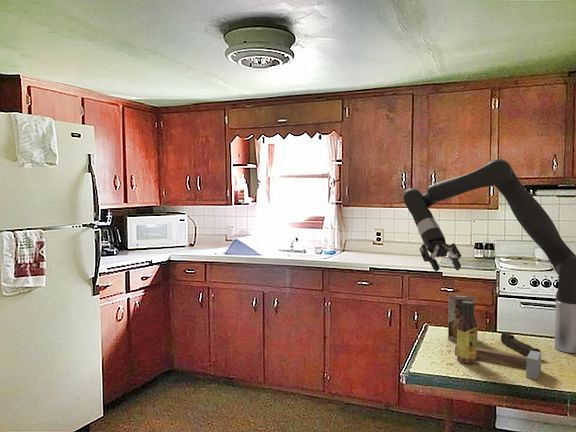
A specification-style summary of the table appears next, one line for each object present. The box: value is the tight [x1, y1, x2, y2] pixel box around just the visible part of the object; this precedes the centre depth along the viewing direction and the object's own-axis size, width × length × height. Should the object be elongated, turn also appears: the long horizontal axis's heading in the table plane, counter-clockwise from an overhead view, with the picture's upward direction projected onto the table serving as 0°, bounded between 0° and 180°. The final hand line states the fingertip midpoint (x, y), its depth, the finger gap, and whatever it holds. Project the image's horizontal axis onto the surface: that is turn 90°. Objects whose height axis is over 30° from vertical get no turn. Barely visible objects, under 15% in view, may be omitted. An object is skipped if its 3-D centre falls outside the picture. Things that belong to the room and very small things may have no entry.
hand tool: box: [500, 331, 542, 356], centre depth 171 cm, size 19×4×5 cm, turn 8°
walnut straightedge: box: [454, 344, 527, 369], centre depth 161 cm, size 2×23×3 cm, turn 55°
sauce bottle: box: [456, 301, 479, 365], centre depth 160 cm, size 6×6×20 cm
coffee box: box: [447, 294, 475, 342], centre depth 183 cm, size 9×6×16 cm
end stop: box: [525, 351, 542, 380], centre depth 149 cm, size 8×3×6 cm, turn 145°
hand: (448, 269), depth 169 cm, fingers open, 8 cm apart
